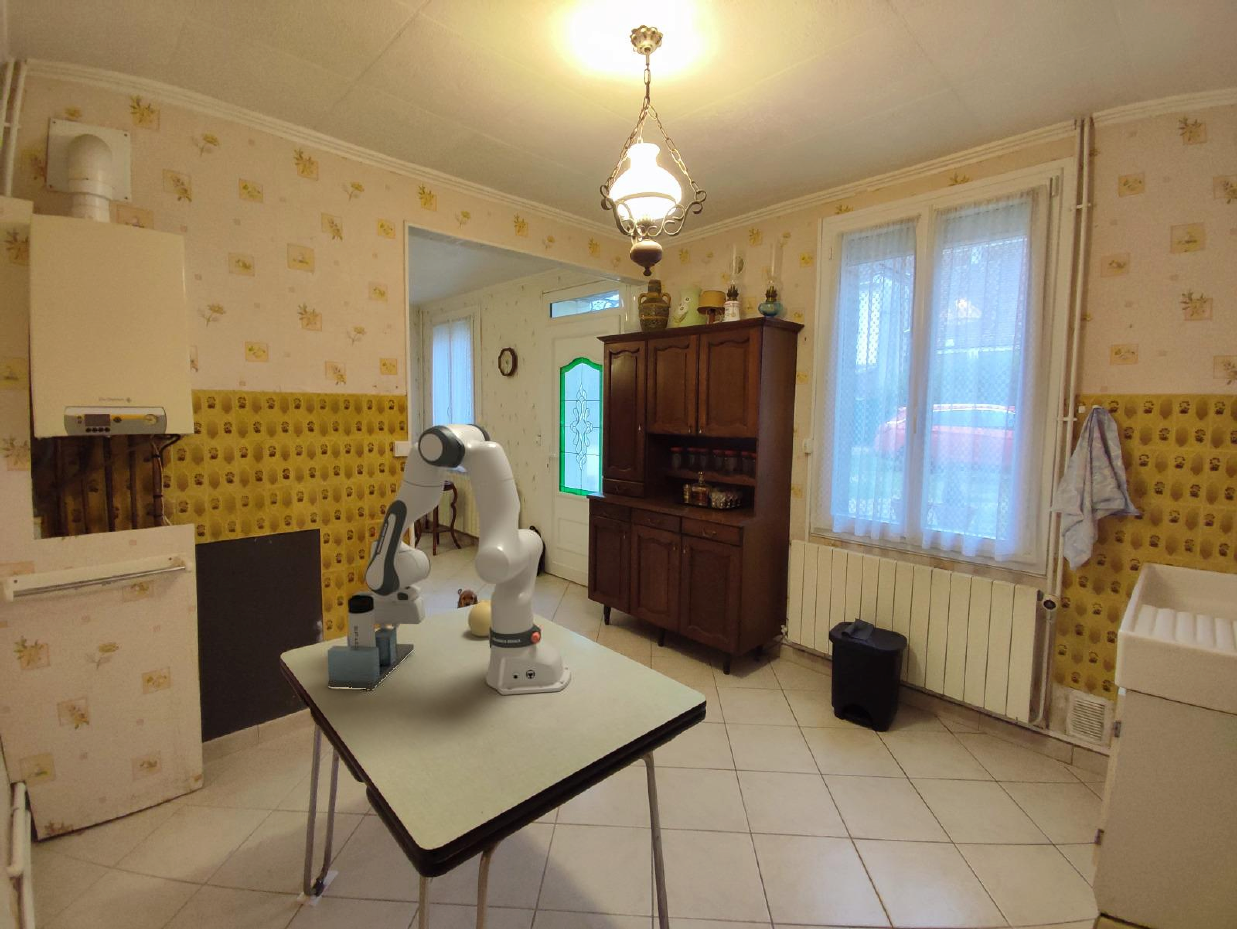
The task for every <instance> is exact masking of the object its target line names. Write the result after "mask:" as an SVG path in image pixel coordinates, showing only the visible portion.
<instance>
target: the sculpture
mask: <svg viewBox="0 0 1237 929" xmlns="http://www.w3.org/2000/svg"><path fill="white" fill-rule="evenodd" d="M467 617H468V618H467V622H468V627H469V629H470V631H471V632H472V634H474V636H478V637H489V631H490V627H491V598H490V599H482V600H479V601H477V603H476V604H475V605H474V606H473V607H471V610H470V611H469V614H468V616H467Z"/></svg>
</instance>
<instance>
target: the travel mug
mask: <svg viewBox="0 0 1237 929" xmlns="http://www.w3.org/2000/svg"><path fill="white" fill-rule="evenodd" d="M347 608H348V609H347V610H348V611H347V612H348V613H347V614H348V616H347V617H348V635H349V640H350V646H362V647H376V640H375V632H376V623H375V617H374V599H373V597H371V596H368V595H359V594H358V595H355V594H354V595H351V597H350V598H348V600H347Z"/></svg>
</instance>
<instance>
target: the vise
mask: <svg viewBox="0 0 1237 929" xmlns="http://www.w3.org/2000/svg"><path fill="white" fill-rule="evenodd" d="M414 648H415V647H414V643H413V644H412V643H411V644H410V643H397V648H396V661H395V662H394V663H393V664H392V665H379V647H362V646H348V645H332V647H330V648H329V649H328V650H327V652H326V653H327V670H328V681H327V687H328V686H330V687H349V688H351V687H352V688H366V689H374V688H375V686H376V685H378V684H379V682H381V680H382V679H384V678H385V677H386V675H388V674H389V672H391V671H392V670H393V668H395V667H396V666H397V665H398V664H399V663H400V662H401V661H402V660H403V659H404V658H405V657H406V656H407V655H408V654H409V653H410V652H411V651H412V650H413V649H414ZM414 650H415V649H414ZM384 680H385V679H384ZM381 683H382V682H381ZM379 685H380V684H379ZM379 685H378V686H379ZM375 689H376V688H375ZM375 689H374V690H375Z"/></svg>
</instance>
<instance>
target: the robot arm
mask: <svg viewBox="0 0 1237 929" xmlns="http://www.w3.org/2000/svg"><path fill="white" fill-rule="evenodd" d="M407 455H408V456H407V458H406V461H405V464H404V468H403V474H402V480H401V484H400V487H399V489H398V492H397V493H396V496H395V498H394V500H393V501H392V503H391V504H390V505H389V507H388V508H387V510H386V513H385V515H384V518H383V521H382V524H381V528H380V532H379V534H378V538H377V539H375V540H374V541H373V542H372V544H371V548H370V559H369V560H370V561H369V563H368V564H367V566H366V570H365V574H364V575H365V576H364V580H365V584H366V586H367V587H368V589H369V590H359V591H358V592H356V593H355V594H354V595H358V594H359V595H368V596H371V597H373V599H374V617H375V624H379V628H382V629H383V628H388V627H387V625H388V624H389V625H390V624H391V627H392V629H396V631H397V630H398V628H399V627H400V625H419V624H420V623H421V622H423V620H424V619H425V618H426V617H425V616H426V612H425V611H426V610H425V604H424V600H423V598H422V597H421V596H420V595H421V594H422V589H421V587H419V586H416V585H414V584H418V583H421V582H422V581H424V580H426V579H427V578H428V576H429V575H430V572H431V560H430V558H429V556H428V555H427V553H426V552H424V551H423V550H421V549H418V548H414V547H412V546H410V545H408V544H407V543H406V542H404V541H403V538H404V536H405V533H406V532H407V530H408V529H409V528H410V527H411V525H412V524H414V523H415V522H416V521H417V520H419V519H420V518H422V517H423V516H425V515H427V514H429V513H431V512H433V511H434V510H435V509H436V507H437V506H438V505H439V504H440V503H441V500H442V498H443V494H444V488H445V482H446V476H447V471H448V469H457V468H458V467H461V468H463V469H465V471H466V473H467V474H468V477H469V482H470V488H471V491H472V495H473V499H474V503H475V507H476V512H477V517H478V525H479V526H478V531H479V532H478V534H479V536H478V549H477V553H476V556H475V558H474V569H475V572H476V575H477V576H479V578H480V579H481V581H483V582H485V583H487V584H492V585H495V587H494V588H493V592H492V594H491V596H490V599H491V627H490V631H489V636H488V644H489V648H490V656H489V663H488V664H489V665H488V670H487V673H486V676H485V682H486V683H487V685H488V686H489V687H490V688H493V689H495V690H497V691H498V693H499V694H500V695H503V696H504V695H516V694H517V695H519V694H522V695H523V694H533V693H551V692H560V691H562V690H563V689H565V687H567V686H568V684H569V682H570V680H571V678H572V669H571V667H570V666H569V665H568V664H567V663H563V658H562V654H561V652H560V650H559V649H558V648H557V647H555V646H553V644H551V643H549V642H548V641H546V640H545V639H544V638H542V625H539V626H537V625H536V624H535V623H534V590H535V587H536V586H535V585H536V580H537V575H538V574H537V573H538V568H539V562H540V560H541V559H540V558H541V555H542V554H543V549H544V544H543V540H542V538H541V537H540V535H539V534H538V533H537V532H535V531H534V530H532V529H529V528H521V529H520V528H519V517H520V511H521V501H520V498H519V493H518V489H517V486H516V482H515V478H514V474H513V470H512V467H511V464H510V462H509V459H508V457H507V454H506V452H505V451H504V448H503V447H502V446H501V444H500V443H498V442H495V441H491V438H490V435H489V433H488V431H487V430H485V428H483V427H482V426H480V425H477V424H473V423H466V424H465V423H448V424H447V423H446V424H443V425H440V424H439V425H434V426H431V427H429V428H427V429H426V430H424V431H423V432H422V433H421V434H420V436H419V438H418V441H417V442H416V443H414V444H413V445H412V446H411V448H410V449H409V452H408V454H407Z"/></svg>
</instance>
